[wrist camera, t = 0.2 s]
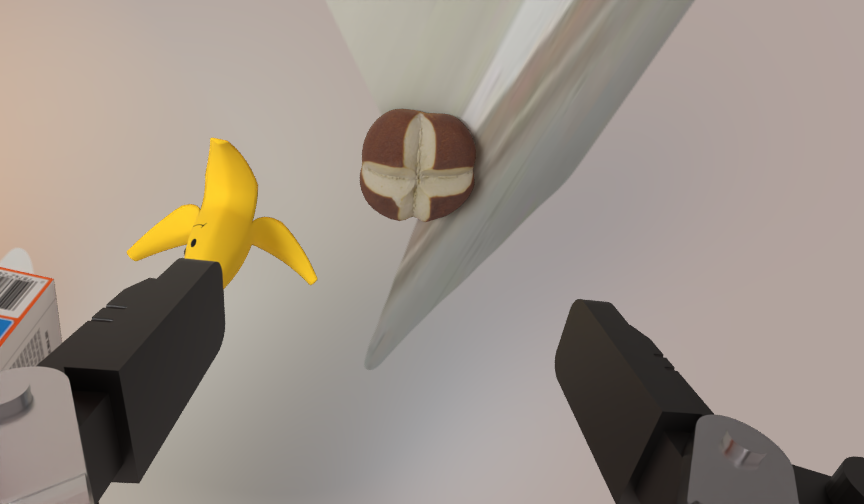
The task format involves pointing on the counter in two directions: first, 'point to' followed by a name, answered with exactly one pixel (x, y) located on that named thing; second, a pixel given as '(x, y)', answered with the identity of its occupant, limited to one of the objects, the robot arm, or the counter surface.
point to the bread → (417, 165)
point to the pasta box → (27, 319)
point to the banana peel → (225, 222)
